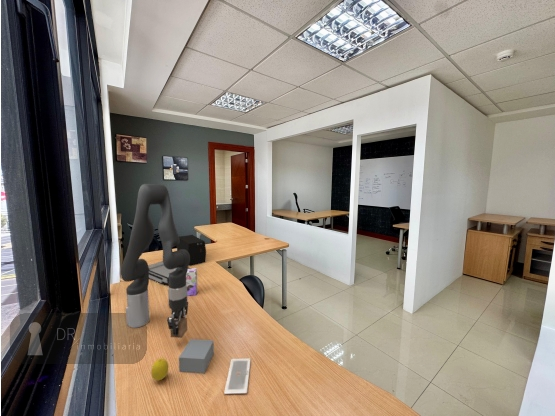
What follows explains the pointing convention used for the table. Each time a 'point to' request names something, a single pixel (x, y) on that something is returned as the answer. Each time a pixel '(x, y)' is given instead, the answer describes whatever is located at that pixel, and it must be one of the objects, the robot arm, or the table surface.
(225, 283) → the table surface
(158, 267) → the game console
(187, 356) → the base block
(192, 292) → the candy box
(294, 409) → the table surface
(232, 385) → the touchpad
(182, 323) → the walnut block
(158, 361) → the lemon
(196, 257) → the uninterruptible power supply
